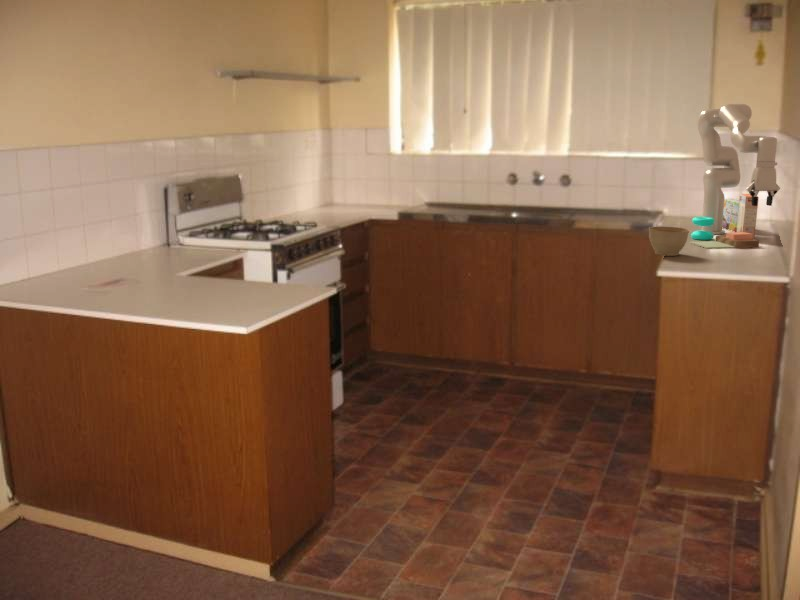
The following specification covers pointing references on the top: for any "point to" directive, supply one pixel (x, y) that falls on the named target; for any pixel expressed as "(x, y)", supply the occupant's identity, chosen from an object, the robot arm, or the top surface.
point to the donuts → (702, 222)
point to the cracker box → (747, 215)
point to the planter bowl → (668, 240)
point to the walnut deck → (738, 242)
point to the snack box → (730, 214)
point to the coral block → (739, 235)
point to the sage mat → (712, 244)
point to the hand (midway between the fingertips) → (761, 205)
